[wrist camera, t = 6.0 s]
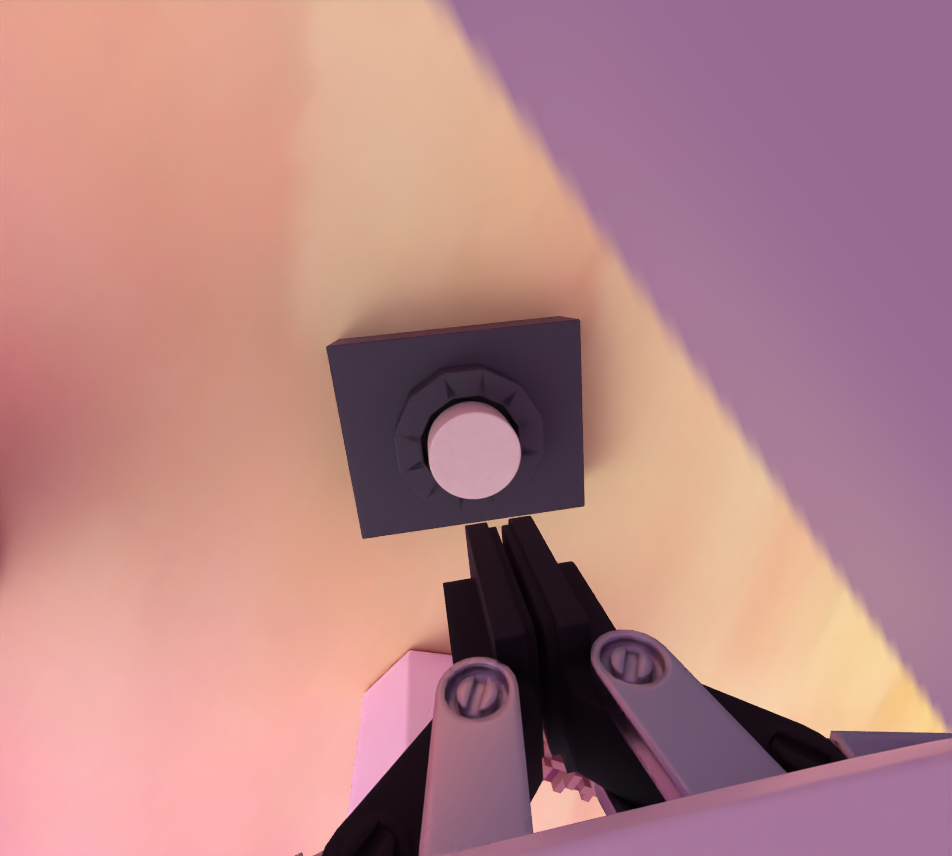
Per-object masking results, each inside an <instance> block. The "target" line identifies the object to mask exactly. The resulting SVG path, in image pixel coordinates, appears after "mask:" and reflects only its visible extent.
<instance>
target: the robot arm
mask: <svg viewBox="0 0 952 856" xmlns="http://www.w3.org/2000/svg"><path fill="white" fill-rule="evenodd" d="M465 530H466V540H467V548H468V557H469V566H470V575H471V578H470V579H464V580H458V581H452V582H446V583H443V587H444V596H445V604H446V612H447V620H448V628H449V636H450V644H451V652H452V660H453V665H452V666H451V667H450V668H449V669H448V670H446V671H445V672H444V674H443V675H442V677H441V678H440V680H439V682H438V685H437V689H436V693H435V702H434V712H433V719H432V720H431V721H430V722H429V723H428V725H427V726H426V727H425V728H424V729H423V730H422V732H421V733H420V734H419V735H418V736H417V737H416V739H415V740H414V741H413V742H412V743H411V744H410V745H409V747H408V748H407V749H406V750H405V751H404V752H403V754H402V755H401V756H400V757H399V758H398V759H397V761H396V762H395V763H394V764H393V765H392V766H391V768H390V769H389V770H388V771H387V772H386V773H385V774H384V776H383V777H382V778H381V779H380V780H379V781H378V783H377V784H376V785H375V786H374V787H373V788H372V790H371V791H370V792H369V793H368V794H367V795H366V796H365V798H364V799H363V800H362V801H361V802H360V803H359V805H358V806H357V807H356V808H355V809H354V810H353V812H352V813H351V814H350V815H349V816H348V817H347V819H346V820H345V821H344V822H343V823H342V824H341V825H340V827H339V828H338V829H337V830H336V832H335V833H334V835H333V836H332V838H331V839H330V840H329V842H328V843H327V845H326V846H325V849H324V851H322V852H320V853H318V854H316V855H314V856H952V734H951V733H914V732H863V731H831V734H830V738H825V737H824V736H823V735H821V734H820V733H818V732H816V731H814V730H812V729H810V728H808V727H806V726H804V725H802V724H800V723H797V722H795V721H792V720H790V719H787V718H785V717H782V716H780V715H777V714H775V713H772V712H770V711H768V710H765V709H763V708H760V707H758V706H755V705H753V704H750V703H748V702H745V701H743V700H740V699H738V698H735V697H733V696H730V695H728V694H725V693H723V692H720V691H718V690H715V689H713V688H710V687H708V686H705V685H703V684H701V683H700V682H699V681H698V680H697V679H696V678H695V677H694V676H693V675H692V674H691V673H690V672H689V671H688V670H687V669H686V668H685V667H684V666H683V665H682V663H681V662H680V661H679V660H678V659H677V658H676V657H675V656H674V655H673V654H672V653H671V652H670V651H669V650H668V649H667V648H666V647H665V646H664V645H663V644H661V643H660V642H659V641H658V640H656V639H655V638H653V637H651V636H649V635H647V634H645V633H641V632H638V631H634V630H616V629H615V627H614V626H613V624H612V622H611V621H610V619H609V618H608V616H607V614H606V613H605V611H604V610H603V608H602V606H601V605H600V603H599V602H598V600H597V598H596V597H595V595H594V594H593V592H592V590H591V589H590V587H589V586H588V584H587V582H586V581H585V579H584V578H583V576H582V574H581V573H580V571H579V570H578V568H577V566H576V565H575V564H574V563H573V562H571V561H570V562H564V563H557V562H556V560H555V558H554V556H553V555H552V553H551V551H550V549H549V547H548V546H547V544H546V542H545V540H544V539H543V537H542V535H541V533H540V531H539V530H538V528H537V526H536V524H535V523H534V521H533V519H532V517H531V516H524V517H518V518H511V519H509V521H508V525H503V526H502V541H503V544H502V541H501V539H500V536H499V534H498V531H497V528H496V527H491V528H489V527H488V525H487V523H479V524H473V525H467V526H465ZM543 731H544V734H545V737H546V740H547V744H548V747H549V750H550V753H551V755H552V756H555V755H559V754H561V757H562V760H563V763H564V766H565V769H566V772H567V774H568V773H572V772H578V773H580V774H581V775H583V776H585V777H586V778H588V779H590V780H591V781H593V782H594V790H595V792H596V795H597V798H598V800H599V802H600V804H601V806H602V808H603V810H604V812H605V814H606V816H603V817H599V818H595V819H591V820H587V821H582V822H578V823H574V824H570V825H566V826H562V827H557V828H553V829H549V830H545V831H541V832H537V833H533V826H532V816H531V806H530V803H531V801H532V799H533V797H534V795H535V794H536V792H537V790H538V788H539V786H540V784H541V783H542V781H543V767H542V758H544V740H543ZM295 856H303V854H302V852H301V853H299V854H297V855H295Z"/></svg>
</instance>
